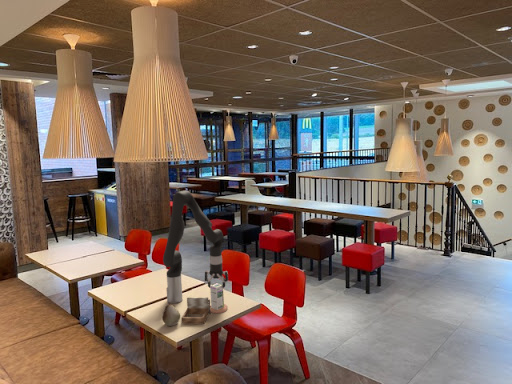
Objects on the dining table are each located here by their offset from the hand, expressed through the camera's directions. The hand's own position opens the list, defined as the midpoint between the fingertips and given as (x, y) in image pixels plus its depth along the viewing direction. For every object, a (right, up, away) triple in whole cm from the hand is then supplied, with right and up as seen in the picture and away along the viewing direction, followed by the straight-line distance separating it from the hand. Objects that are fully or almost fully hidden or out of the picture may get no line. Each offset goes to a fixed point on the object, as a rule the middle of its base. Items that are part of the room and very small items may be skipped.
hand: (216, 287), depth 235 cm
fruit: (-24, -17, -16) cm, 34 cm away
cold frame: (-11, -16, -10) cm, 22 cm away
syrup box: (0, -13, +2) cm, 13 cm away
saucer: (+1, -14, +2) cm, 14 cm away
